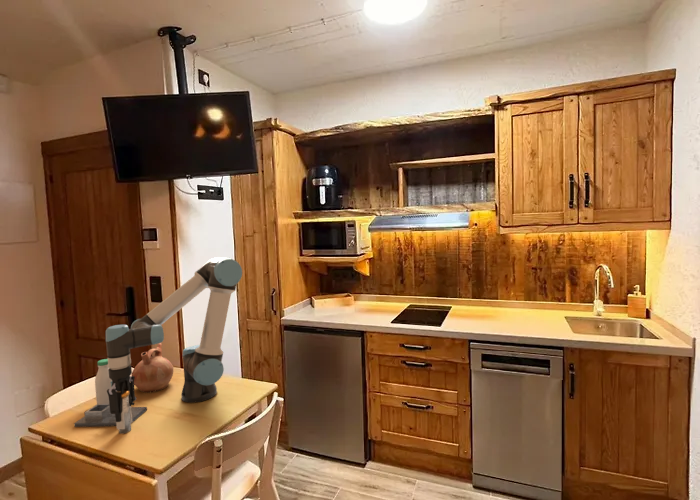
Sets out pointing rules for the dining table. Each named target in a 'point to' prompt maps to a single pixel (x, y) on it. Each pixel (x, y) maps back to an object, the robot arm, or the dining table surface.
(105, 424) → the grey fixture stand
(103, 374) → the milk bottle
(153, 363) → the jug
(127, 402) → the glass jar
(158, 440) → the dining table surface
